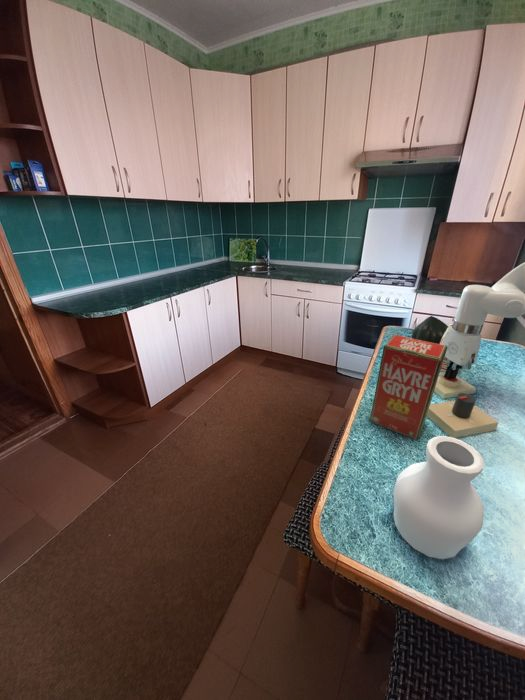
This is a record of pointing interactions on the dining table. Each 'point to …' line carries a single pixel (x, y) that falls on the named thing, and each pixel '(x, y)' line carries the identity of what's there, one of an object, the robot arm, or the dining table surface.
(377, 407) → the food packaging
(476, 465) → the vase
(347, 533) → the dining table surface
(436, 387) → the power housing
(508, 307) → the robot arm
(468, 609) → the dining table surface
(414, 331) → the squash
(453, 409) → the timer dial
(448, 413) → the panel
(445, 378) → the power button
